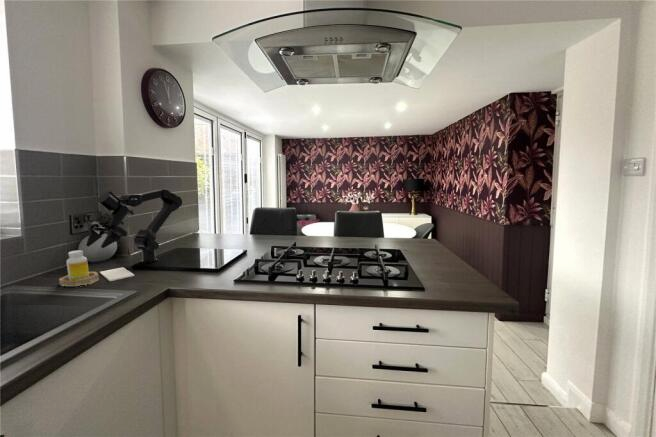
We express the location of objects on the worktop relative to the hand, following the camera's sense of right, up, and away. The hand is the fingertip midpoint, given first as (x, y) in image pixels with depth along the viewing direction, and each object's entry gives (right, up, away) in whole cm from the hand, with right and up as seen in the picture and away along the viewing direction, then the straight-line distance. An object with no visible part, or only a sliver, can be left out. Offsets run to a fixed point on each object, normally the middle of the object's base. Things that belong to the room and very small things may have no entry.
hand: (94, 246), depth 136 cm
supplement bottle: (-2, -14, -5) cm, 15 cm away
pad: (+6, -12, +5) cm, 15 cm away
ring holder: (-2, -14, -5) cm, 15 cm away
